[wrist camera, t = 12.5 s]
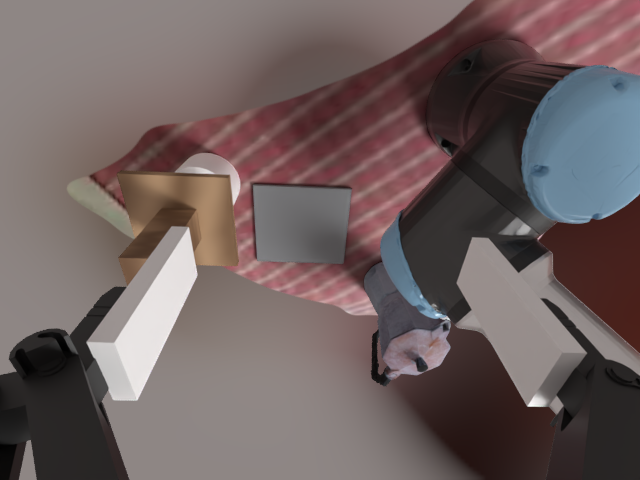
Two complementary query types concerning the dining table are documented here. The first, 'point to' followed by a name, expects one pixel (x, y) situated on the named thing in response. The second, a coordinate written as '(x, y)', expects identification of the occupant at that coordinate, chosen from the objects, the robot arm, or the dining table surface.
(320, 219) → the rubber mat
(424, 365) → the moka pot
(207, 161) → the cylinder with rectangular tab
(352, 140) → the dining table surface
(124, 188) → the walnut lid
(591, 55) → the dining table surface
